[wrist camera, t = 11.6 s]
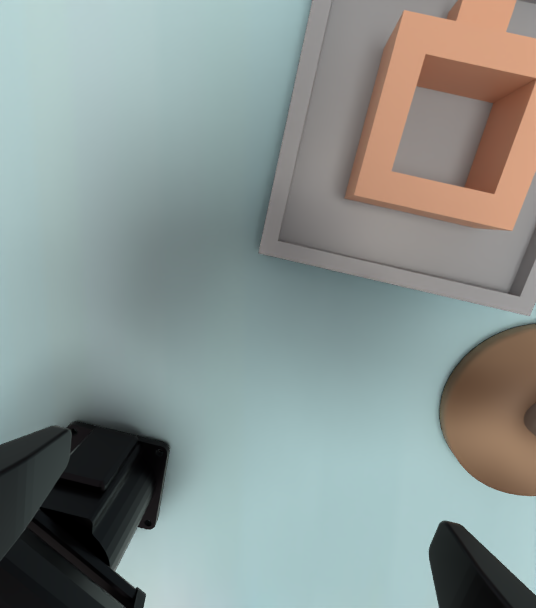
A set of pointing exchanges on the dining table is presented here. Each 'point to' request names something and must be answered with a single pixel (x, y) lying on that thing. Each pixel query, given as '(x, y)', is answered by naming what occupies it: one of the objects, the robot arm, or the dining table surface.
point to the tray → (409, 160)
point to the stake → (495, 411)
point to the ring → (463, 82)
